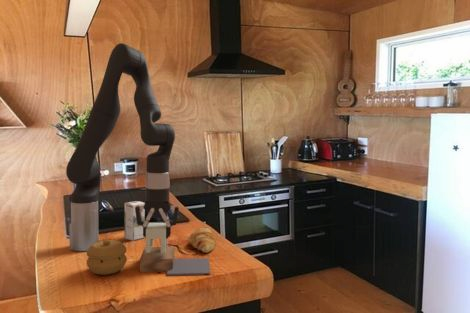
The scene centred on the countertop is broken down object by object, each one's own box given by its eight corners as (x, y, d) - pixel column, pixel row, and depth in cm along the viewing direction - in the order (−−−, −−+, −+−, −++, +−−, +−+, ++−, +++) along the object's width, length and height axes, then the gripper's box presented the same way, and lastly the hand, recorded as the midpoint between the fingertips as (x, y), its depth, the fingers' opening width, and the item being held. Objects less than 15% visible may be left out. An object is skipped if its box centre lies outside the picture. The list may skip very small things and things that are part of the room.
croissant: (214, 264, 137) (225, 244, 137) (189, 252, 134) (200, 232, 135) (205, 244, 158) (214, 227, 158) (183, 234, 155) (193, 216, 155)
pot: (130, 264, 125) (130, 234, 124) (121, 279, 114) (121, 245, 113) (94, 264, 125) (93, 234, 124) (80, 279, 113) (80, 245, 112)
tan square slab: (139, 272, 119) (139, 259, 119) (144, 258, 131) (144, 247, 131) (172, 271, 120) (172, 258, 120) (174, 258, 132) (174, 246, 132)
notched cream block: (145, 252, 121) (145, 229, 120) (148, 244, 129) (149, 222, 128) (165, 252, 121) (165, 229, 121) (167, 244, 129) (167, 222, 129)
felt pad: (166, 275, 117) (166, 273, 117) (169, 260, 130) (169, 258, 130) (210, 274, 118) (210, 272, 118) (208, 259, 131) (208, 258, 131)
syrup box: (136, 235, 158) (135, 200, 157) (145, 238, 155) (145, 202, 153) (124, 238, 154) (123, 202, 153) (133, 241, 150) (132, 204, 149)
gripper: (132, 187, 119) (132, 241, 120) (179, 188, 120) (178, 241, 122) (136, 184, 126) (136, 234, 128) (180, 184, 128) (180, 234, 129)
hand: (157, 237), depth 125 cm, fingers closed on notched cream block, 6 cm apart
